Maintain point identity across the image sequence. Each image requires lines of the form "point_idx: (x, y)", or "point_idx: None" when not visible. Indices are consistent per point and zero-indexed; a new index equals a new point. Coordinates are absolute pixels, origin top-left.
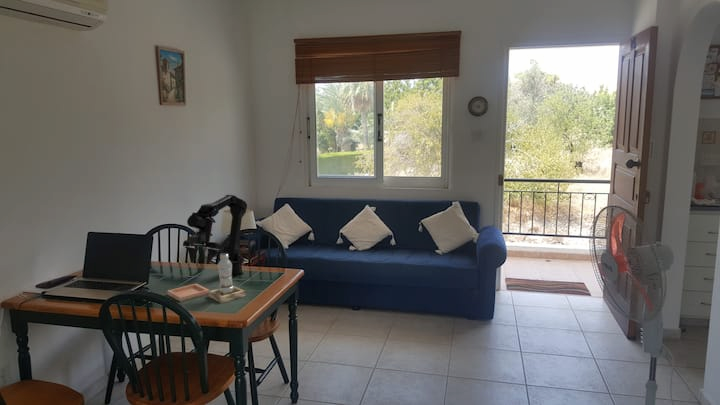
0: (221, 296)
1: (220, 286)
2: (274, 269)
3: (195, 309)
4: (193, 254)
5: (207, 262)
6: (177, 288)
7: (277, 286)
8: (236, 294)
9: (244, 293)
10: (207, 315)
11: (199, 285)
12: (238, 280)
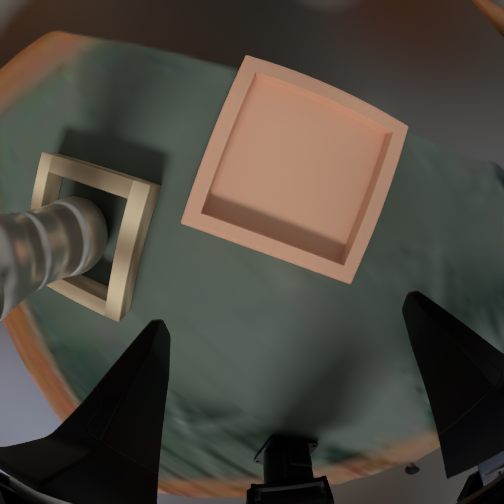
0: (47, 163)
1: (58, 206)
2: (192, 491)
3: (110, 47)
4: (447, 391)
5: (144, 329)
6: (388, 171)
7: (46, 381)
8: None
9: None
10: (44, 51)
11: (303, 263)
12: (213, 414)
